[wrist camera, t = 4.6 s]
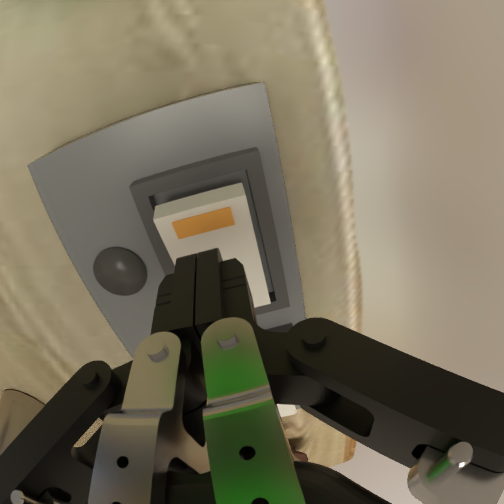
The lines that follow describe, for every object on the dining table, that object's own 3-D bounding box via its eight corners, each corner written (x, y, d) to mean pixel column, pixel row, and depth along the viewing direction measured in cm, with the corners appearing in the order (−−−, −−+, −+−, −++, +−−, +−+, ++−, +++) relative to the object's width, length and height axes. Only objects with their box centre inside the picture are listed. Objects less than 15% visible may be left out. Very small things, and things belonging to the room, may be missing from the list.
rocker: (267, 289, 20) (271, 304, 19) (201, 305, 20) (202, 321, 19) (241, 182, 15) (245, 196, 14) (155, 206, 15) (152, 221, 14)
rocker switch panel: (308, 379, 33) (318, 411, 29) (190, 403, 33) (191, 436, 29) (254, 82, 17) (267, 82, 13) (52, 150, 17) (19, 170, 13)
